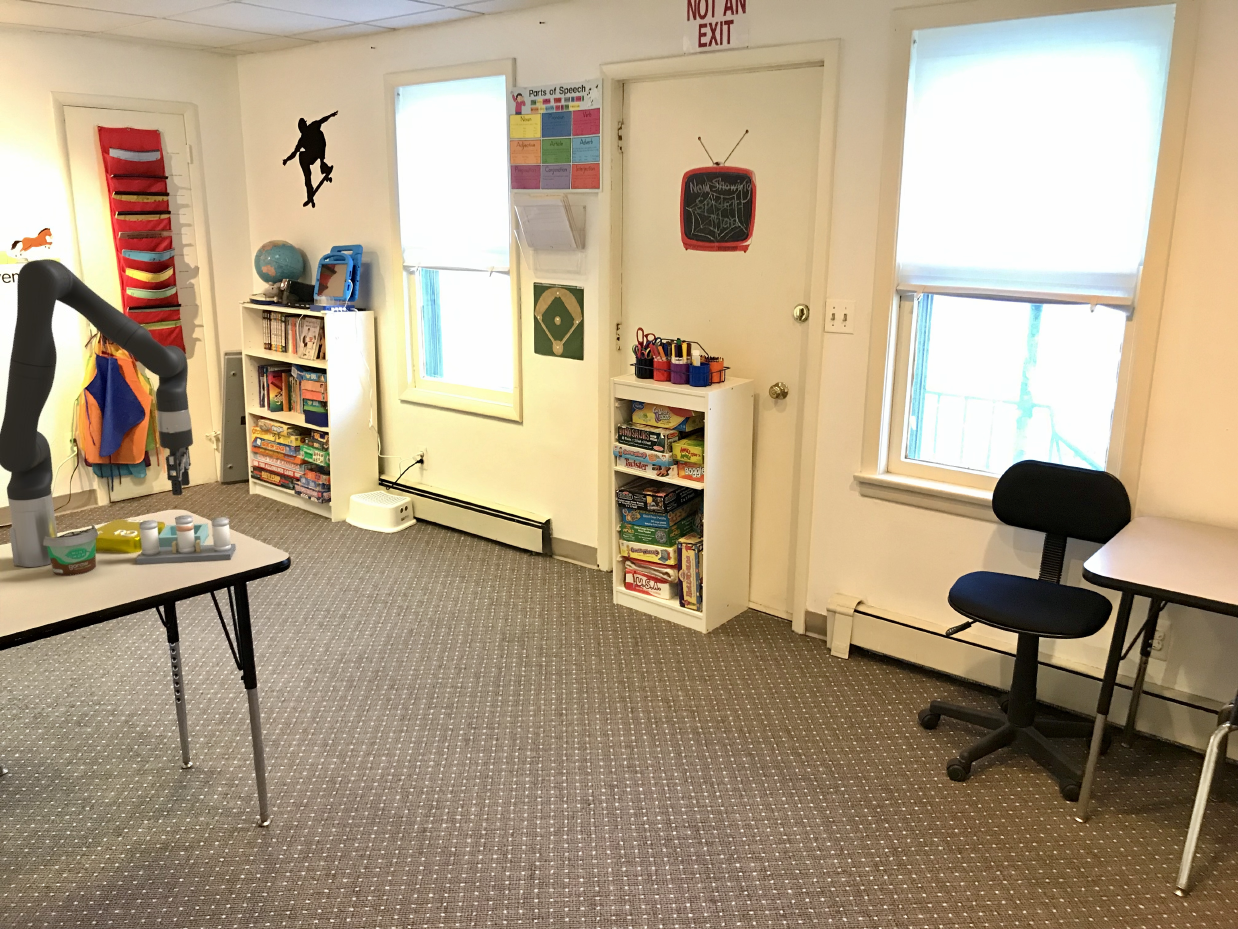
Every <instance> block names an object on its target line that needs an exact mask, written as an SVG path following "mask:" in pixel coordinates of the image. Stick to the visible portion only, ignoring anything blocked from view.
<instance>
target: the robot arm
mask: <svg viewBox="0 0 1238 929" xmlns="http://www.w3.org/2000/svg"><path fill="white" fill-rule="evenodd" d="M17 275H18V276H17V281H16V282H17V283H16V285H17V287H16V288H17V289H16V290H17V299H16V300H17V302H16V303H17V304H16V305H17V311H16V320H15V322H16V323H15V328H14V333H13V334H14V335H13V341H12V349H11V353H10V360H9V369H8V377H7V378H8V380H7V389H6V396H5V408H4V415H3V420H2V422H1V427H0V466H1V468H2V469H4V470H5V471H7V472H9V473H11V475H10V478H9V482H8V484H7V486H6V493H7V501H8V508H9V512H10V514H9V515H10V522H11V527H10V528H9V529H8V532H9V539H10V546H11V553H12V560H13V566H14V567H15V566H20V567H24V568H33V567H34V568H35V567H36V568H37V567H43V566H46V565H52V564H51V561H50V557H49V553H48V549H47V546H45V545H43V543H44V539H45V536H46V537H52V538H55V537H58V530H57V523H56V515H55V514H56V513H55V508H54V507H55V506H54V499H53V493H52V484H53V480H54V477H53V476H54V475H53V462H52V453H51V447H50V444H49V441H48V439H47V437H46V436H45V435H44V434H43V433H41V432H40V431H38V429H39V428H38V426H39V420H40V416H41V414H42V411H43V409H44V407H45V405H46V402H48V398H49V396H50V394H51V392H52V388H53V385H54V382H55V375H56V368H57V358H58V356H57V347H56V342H55V338H54V333H53V317H54V316H53V315H54V311H55V307H56V301H58V302H60V303H62V304H64V305H66V306H68V307H69V308H71V309H73V310H74V311H76V312H77V313H79V314H80V315H82V316H83V317H84V318H85V319H86V320H87V321H88V322H89V323H90V324H91V325H92V326H93V327H94V328H95V329H96V330H97V331H98V332H99V333H100V334H101V335H102V336H104V337H105V338H106V339H108V340H109V341H111V342H112V343H113V344H115V345H117V346H118V347H119V348H121V349H122V350H124V351H126V352H127V353H129V354H130V355H132V357H133V358H135V359H136V361H138V362H139V363H140V364H141V365H142V366H143V367H144V368H145V369H147V370H148V371H149V372H151V373H152V374H155V375H156V376H158V386H157V388H156V390H155V399H156V410H157V414H156V415H157V418H156V419H157V420H156V421H157V422H156V423H157V430H158V439H159V440H158V441H159V446H160V447H161V449H162V448H163V449H167V450H169V454H168V455H166V456H165V462H166V475H167V478H166V479H167V481H169V482H171V493H172V495H173V496H182V495H183V493H184V492H183V487H185V486H187V487H188V486H189V485H190V484H191V483H190V482H191V481H190V473H189V472H190V468H191V465H192V463H191V456H190V447H191V446H193V444H194V438H193V428H192V427H193V426H192V418H191V413H190V410H189V400H188V393H187V385H188V377H189V376H188V373H189V371H188V370H189V369H188V368H189V364H188V359H187V355H186V353H185V352H184V351H183V349H181V347H178V346H176V345H165V346H164V345H162V344H161V343H160V342H158V341H157V340H156V339H155V338H153V336H152V333H151V332H150V331H149V330H148V329H147V328H146V327H144V326H143V325H141V324H140V323H138V322H137V321H135V320H134V319H132V318H130V316H128V315H126V314H125V313H123V312H122V311H121V310H118V308H116V307H115V306H113V305H111V303H109V302H108V301H107V300H105V299H104V298H102V297H101V296H100V295H99V294H97V293H96V292H94V290H92V289H91V288H90V287H89V286H87V284H86V283H84V282H83V281H82V280H81V279H80V278H79V277H78V276H77V275H75V274H74V272H73V271H71V270H70V269H69V268H68V267H67V266H66V265H65V264H63V263H61V262H60V261H57V260H55V259H50V258H49V259H47V258H46V259H45V258H44V259H35V260H31V261H29V262H26V263H25V264H24V265H22V267H21V268H20V270H19V272H18V274H17ZM174 473H175V475H174Z"/></svg>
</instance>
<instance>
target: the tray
mask: <svg viewBox="0 0 1238 929" xmlns="http://www.w3.org/2000/svg"><path fill="white" fill-rule="evenodd" d="M193 525H194V538H195V546H196V541H197V540H201V545H205V543H206V541H207V540H208V538H209V536H210V533H209V523H193ZM158 538H159V547H172V543H173V541H177V531H176V524H168V525H167V524H165V528H164V529H163V531H162V532H161V533H160V535H159V536H158ZM177 546H178V541H177Z"/></svg>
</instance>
